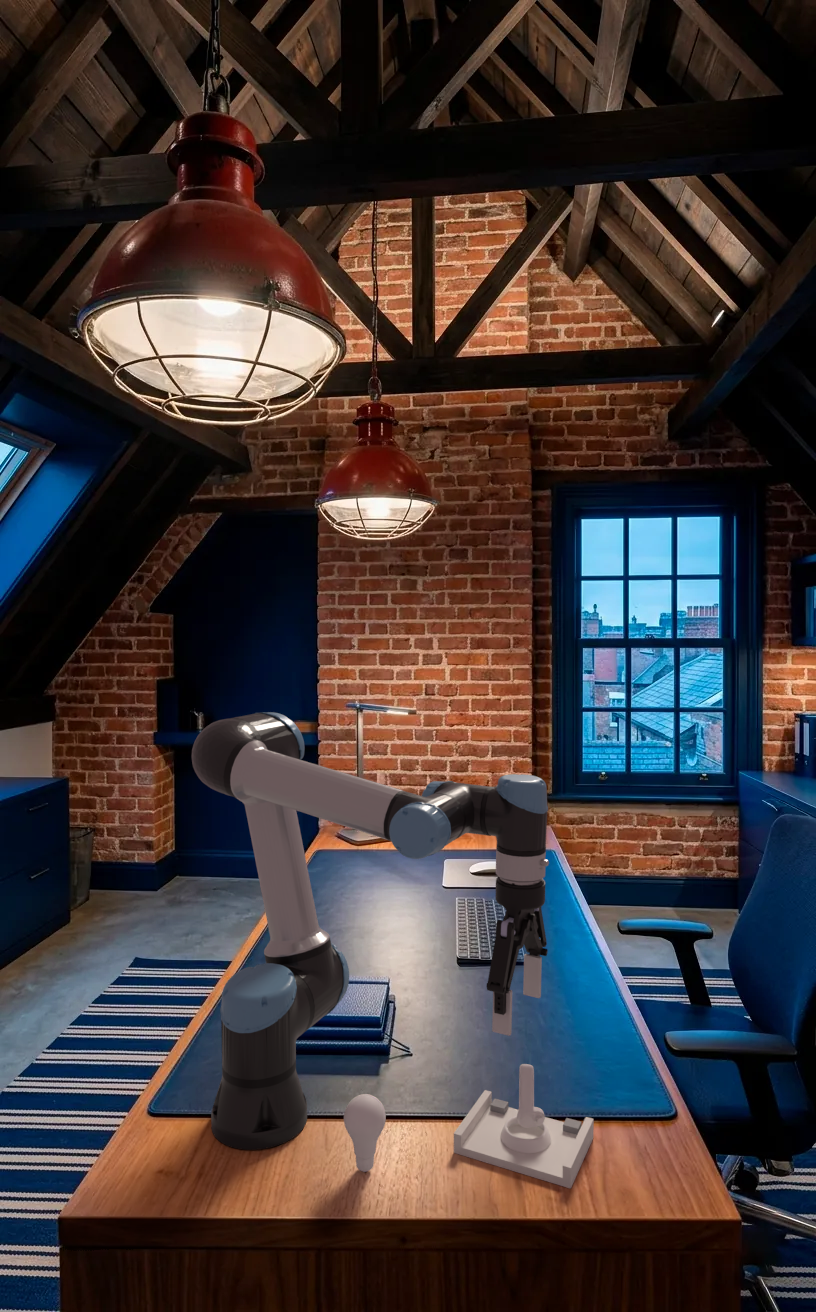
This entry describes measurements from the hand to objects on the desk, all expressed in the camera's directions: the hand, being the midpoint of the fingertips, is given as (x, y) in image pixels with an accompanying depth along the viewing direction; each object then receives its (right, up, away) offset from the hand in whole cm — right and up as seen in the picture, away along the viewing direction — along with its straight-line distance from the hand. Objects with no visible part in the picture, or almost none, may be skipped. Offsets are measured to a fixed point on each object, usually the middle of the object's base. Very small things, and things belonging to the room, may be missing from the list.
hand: (517, 1013), depth 130 cm
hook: (+1, -19, -1) cm, 19 cm away
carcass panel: (+1, -20, -1) cm, 20 cm away
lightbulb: (-23, -20, -7) cm, 32 cm away
